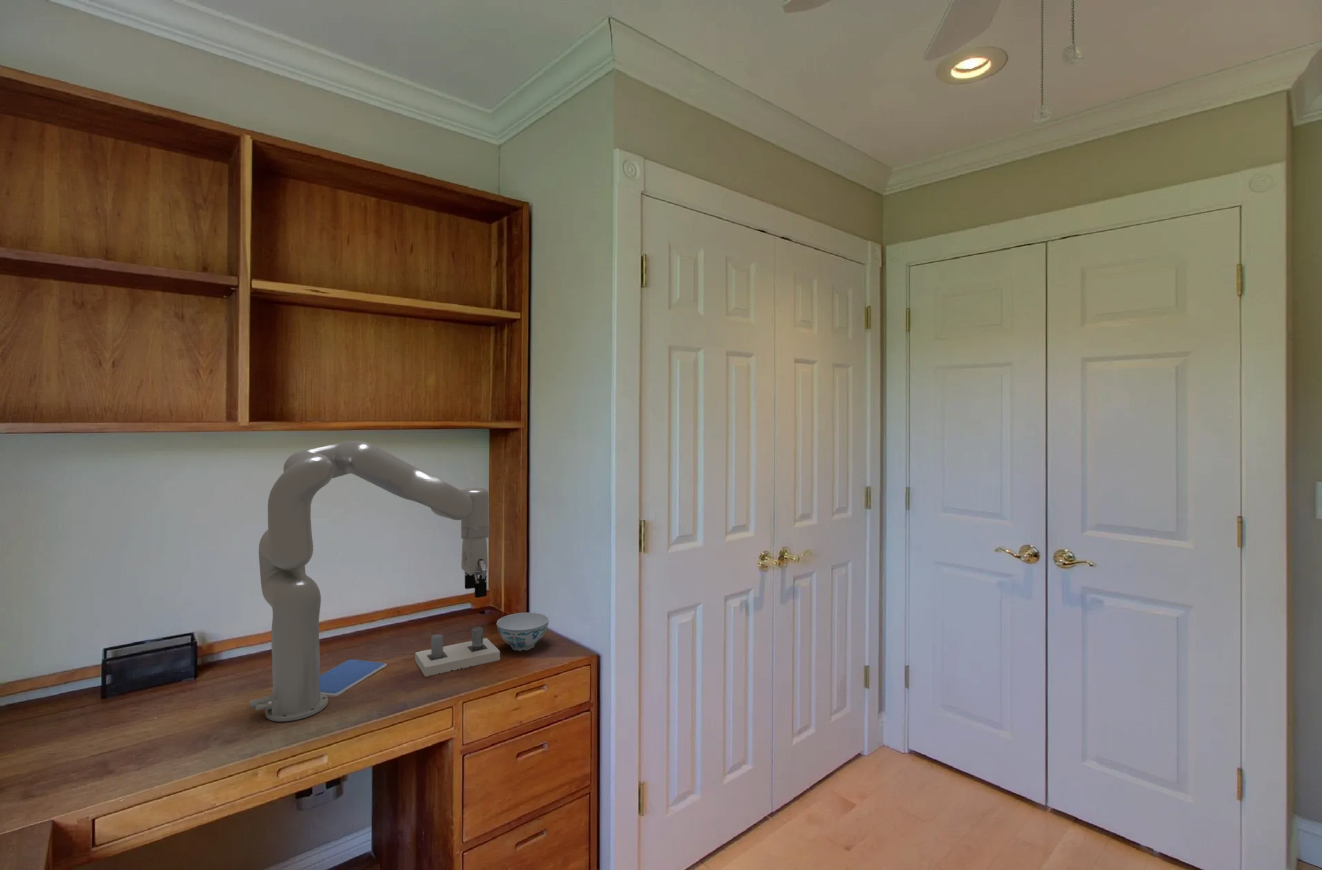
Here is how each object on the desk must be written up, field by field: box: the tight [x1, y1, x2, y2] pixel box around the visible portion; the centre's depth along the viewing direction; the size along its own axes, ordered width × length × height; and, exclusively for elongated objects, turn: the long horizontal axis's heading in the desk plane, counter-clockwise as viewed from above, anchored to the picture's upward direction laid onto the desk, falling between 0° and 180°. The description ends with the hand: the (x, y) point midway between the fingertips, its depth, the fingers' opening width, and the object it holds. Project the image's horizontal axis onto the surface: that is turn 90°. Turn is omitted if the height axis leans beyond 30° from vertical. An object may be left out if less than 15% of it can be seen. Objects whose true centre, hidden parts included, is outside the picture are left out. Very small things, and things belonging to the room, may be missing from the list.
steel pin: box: [471, 626, 484, 652], centre depth 176 cm, size 3×3×8 cm
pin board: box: [414, 633, 501, 678], centre depth 173 cm, size 20×12×8 cm, turn 123°
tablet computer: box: [320, 659, 388, 698], centre depth 162 cm, size 19×13×1 cm, turn 166°
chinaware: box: [496, 612, 550, 652], centre depth 183 cm, size 15×15×8 cm
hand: (475, 592), depth 175 cm, fingers open, 9 cm apart
